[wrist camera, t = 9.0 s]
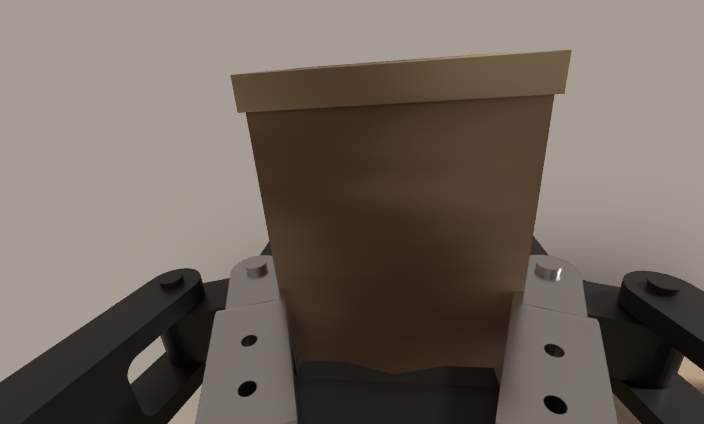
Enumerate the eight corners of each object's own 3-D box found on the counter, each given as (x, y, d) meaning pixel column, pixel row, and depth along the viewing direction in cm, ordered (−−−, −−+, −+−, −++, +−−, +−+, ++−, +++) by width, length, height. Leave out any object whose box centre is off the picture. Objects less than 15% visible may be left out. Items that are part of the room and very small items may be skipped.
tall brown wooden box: (459, 403, 15) (486, 53, 10) (488, 558, 11) (571, 50, 5) (342, 397, 16) (305, 67, 10) (320, 540, 11) (230, 75, 6)
